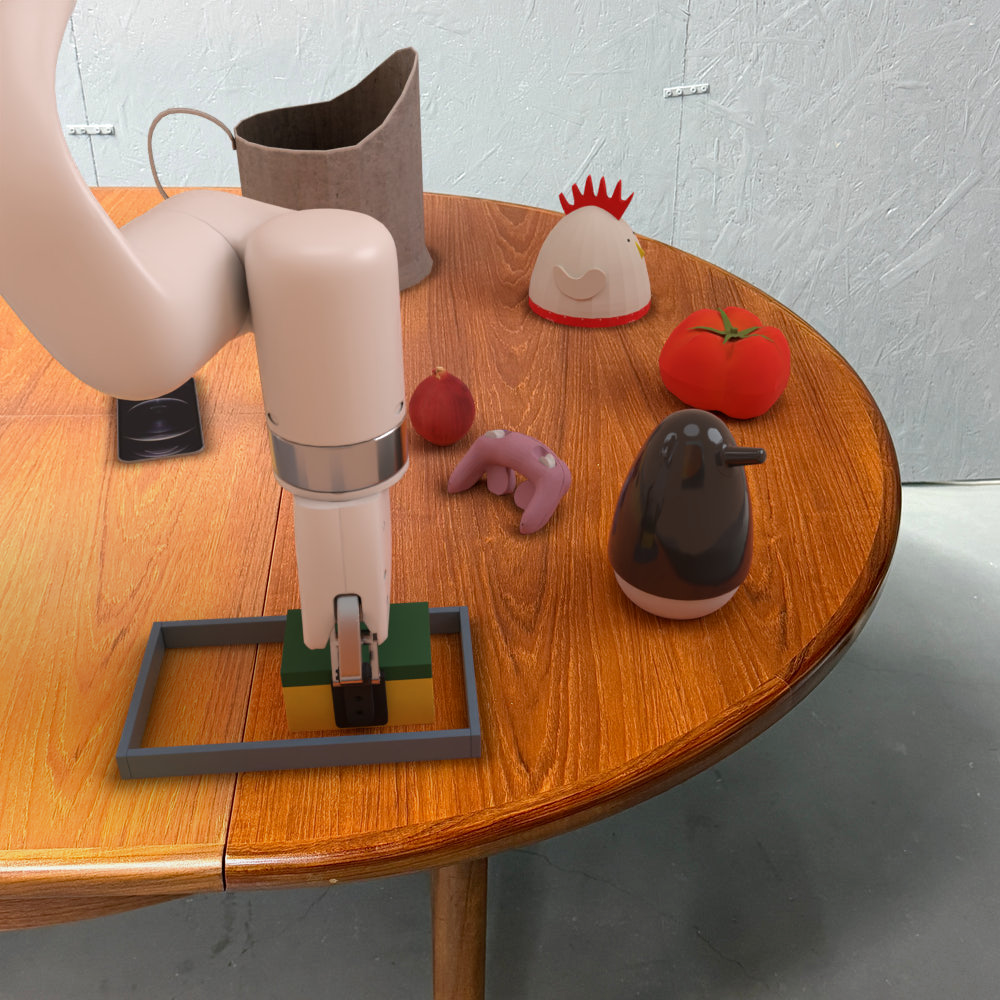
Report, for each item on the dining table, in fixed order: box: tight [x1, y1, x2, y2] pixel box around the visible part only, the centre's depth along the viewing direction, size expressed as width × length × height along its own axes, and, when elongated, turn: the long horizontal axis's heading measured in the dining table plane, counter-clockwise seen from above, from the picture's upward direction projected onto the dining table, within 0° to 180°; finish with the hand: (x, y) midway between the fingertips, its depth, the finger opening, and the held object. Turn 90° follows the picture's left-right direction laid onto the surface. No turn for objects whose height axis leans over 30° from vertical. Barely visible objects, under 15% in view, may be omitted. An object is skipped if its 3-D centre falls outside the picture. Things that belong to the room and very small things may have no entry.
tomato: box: [658, 305, 792, 420], centre depth 101 cm, size 13×12×8 cm
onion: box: [408, 366, 477, 447], centre depth 95 cm, size 6×6×8 cm
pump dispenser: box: [607, 408, 768, 620], centre depth 75 cm, size 10×10×15 cm
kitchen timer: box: [528, 174, 652, 329], centre depth 119 cm, size 14×14×15 cm
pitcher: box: [147, 46, 434, 293], centre depth 124 cm, size 23×32×25 cm
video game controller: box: [447, 428, 572, 535], centre depth 88 cm, size 10×5×7 cm, turn 45°
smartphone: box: [116, 376, 206, 465], centre depth 99 cm, size 8×1×15 cm
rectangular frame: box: [115, 605, 482, 781], centre depth 69 cm, size 21×12×2 cm, turn 95°
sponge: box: [279, 601, 436, 733], centre depth 68 cm, size 9×6×5 cm, turn 95°
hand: (363, 683), depth 69 cm, fingers closed on sponge, 6 cm apart
